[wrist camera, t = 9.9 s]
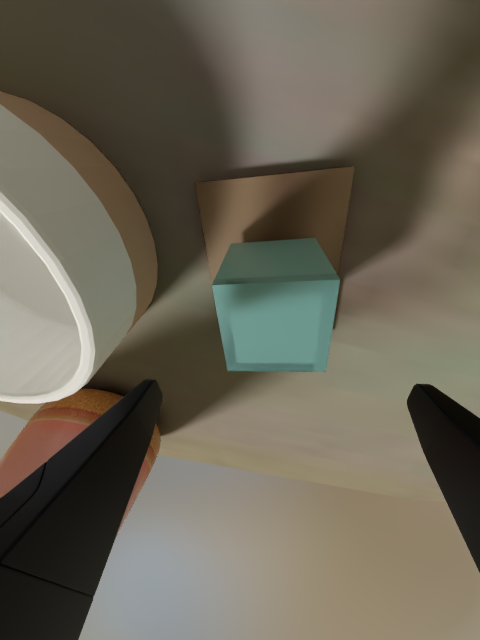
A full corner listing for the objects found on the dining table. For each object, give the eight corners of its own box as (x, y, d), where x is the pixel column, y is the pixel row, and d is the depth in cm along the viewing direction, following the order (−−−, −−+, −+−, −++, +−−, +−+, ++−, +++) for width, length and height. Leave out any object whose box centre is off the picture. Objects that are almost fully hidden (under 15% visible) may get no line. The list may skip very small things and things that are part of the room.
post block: (350, 166, 13) (414, 170, 7) (326, 333, 20) (349, 403, 14) (198, 182, 14) (151, 196, 9) (223, 334, 21) (206, 399, 15)
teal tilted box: (315, 237, 14) (340, 279, 9) (309, 310, 17) (325, 371, 12) (230, 243, 15) (211, 285, 10) (238, 312, 18) (227, 370, 13)
